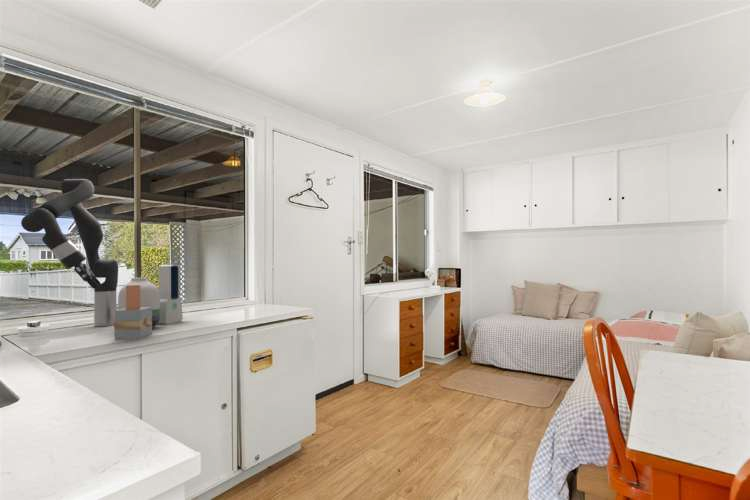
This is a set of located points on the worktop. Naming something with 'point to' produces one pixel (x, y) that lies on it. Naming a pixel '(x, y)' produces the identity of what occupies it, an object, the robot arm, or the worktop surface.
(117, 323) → the tower slab middle
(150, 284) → the vase
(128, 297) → the pillar
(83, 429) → the worktop surface
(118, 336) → the tower slab bottom
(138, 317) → the tower slab top
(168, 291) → the electronic device
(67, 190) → the robot arm
